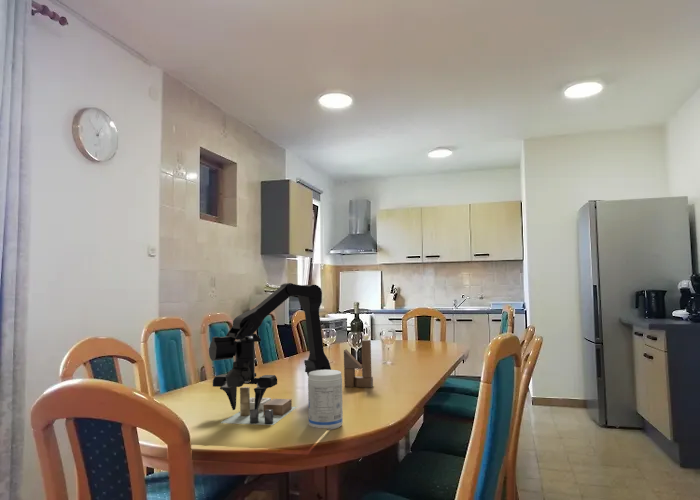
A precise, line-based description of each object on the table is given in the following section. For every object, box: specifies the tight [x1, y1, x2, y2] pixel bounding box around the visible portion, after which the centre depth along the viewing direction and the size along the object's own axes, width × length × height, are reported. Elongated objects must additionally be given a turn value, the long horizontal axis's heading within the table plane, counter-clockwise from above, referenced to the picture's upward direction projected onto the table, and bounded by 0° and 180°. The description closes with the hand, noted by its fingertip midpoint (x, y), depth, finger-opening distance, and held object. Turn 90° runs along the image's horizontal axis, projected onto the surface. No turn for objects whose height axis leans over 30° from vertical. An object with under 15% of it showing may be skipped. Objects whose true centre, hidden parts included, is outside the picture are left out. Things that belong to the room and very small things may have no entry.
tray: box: [250, 396, 272, 411], centre depth 151 cm, size 7×7×2 cm
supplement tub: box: [307, 369, 344, 431], centre depth 133 cm, size 10×10×15 cm
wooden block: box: [343, 339, 374, 389], centre depth 187 cm, size 4×11×18 cm, turn 75°
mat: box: [220, 406, 298, 426], centre depth 143 cm, size 16×21×1 cm
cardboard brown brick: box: [264, 398, 293, 416], centre depth 146 cm, size 6×8×3 cm
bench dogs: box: [250, 409, 273, 425], centre depth 134 cm, size 7×2×4 cm, turn 77°
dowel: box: [239, 386, 251, 416], centre depth 143 cm, size 3×3×8 cm
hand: (245, 410), depth 143 cm, fingers open, 7 cm apart
